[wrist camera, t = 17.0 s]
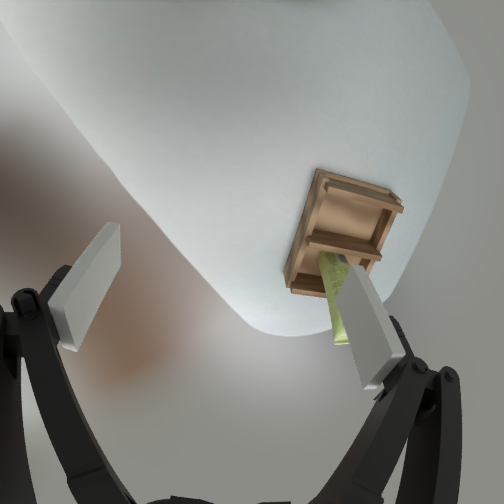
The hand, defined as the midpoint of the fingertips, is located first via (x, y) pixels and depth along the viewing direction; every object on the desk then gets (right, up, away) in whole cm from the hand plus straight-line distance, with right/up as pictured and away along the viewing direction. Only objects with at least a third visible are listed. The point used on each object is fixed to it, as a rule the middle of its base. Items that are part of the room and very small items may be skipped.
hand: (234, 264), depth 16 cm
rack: (+16, +4, +34) cm, 38 cm away
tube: (+15, 0, +35) cm, 38 cm away
